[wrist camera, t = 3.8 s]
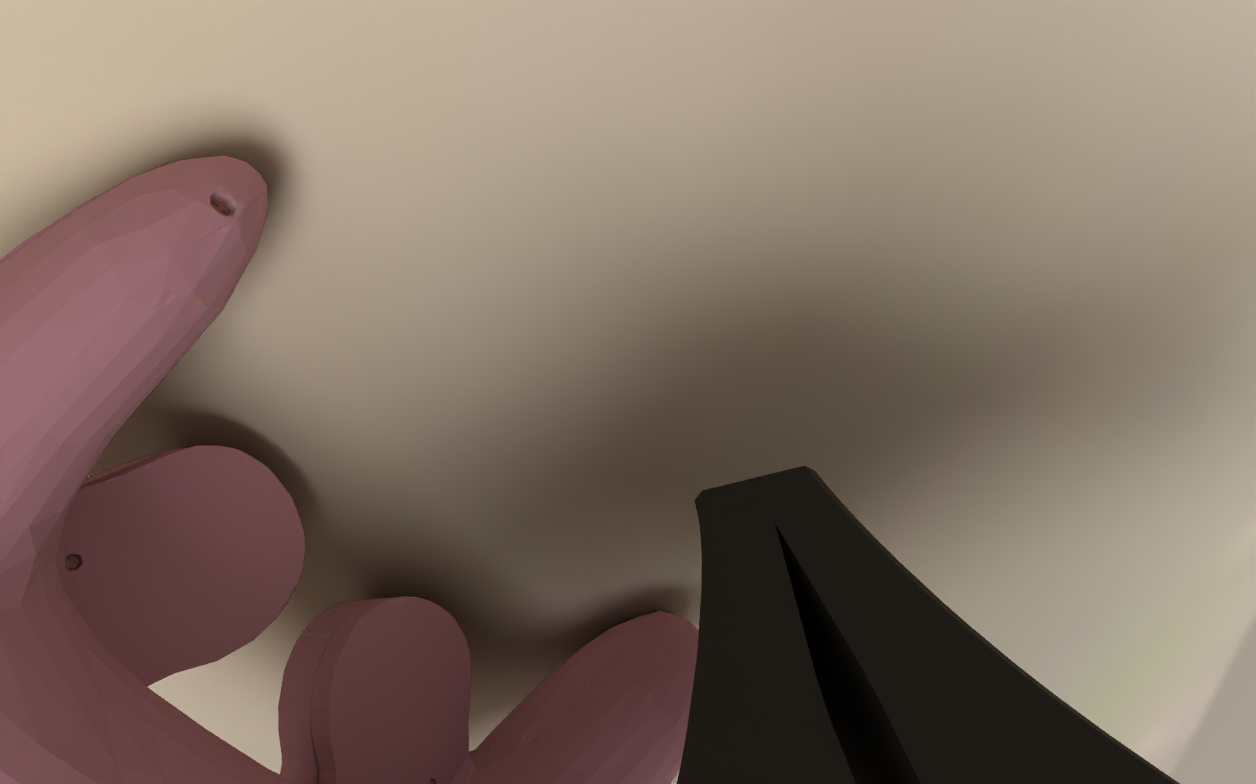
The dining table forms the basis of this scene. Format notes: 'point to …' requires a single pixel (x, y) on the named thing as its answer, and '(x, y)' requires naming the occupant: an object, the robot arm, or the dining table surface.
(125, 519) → the video game controller
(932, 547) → the dining table surface
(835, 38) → the dining table surface
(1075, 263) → the dining table surface
